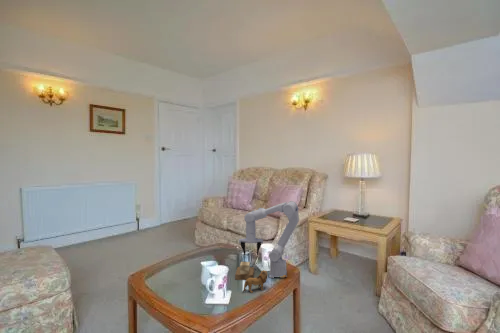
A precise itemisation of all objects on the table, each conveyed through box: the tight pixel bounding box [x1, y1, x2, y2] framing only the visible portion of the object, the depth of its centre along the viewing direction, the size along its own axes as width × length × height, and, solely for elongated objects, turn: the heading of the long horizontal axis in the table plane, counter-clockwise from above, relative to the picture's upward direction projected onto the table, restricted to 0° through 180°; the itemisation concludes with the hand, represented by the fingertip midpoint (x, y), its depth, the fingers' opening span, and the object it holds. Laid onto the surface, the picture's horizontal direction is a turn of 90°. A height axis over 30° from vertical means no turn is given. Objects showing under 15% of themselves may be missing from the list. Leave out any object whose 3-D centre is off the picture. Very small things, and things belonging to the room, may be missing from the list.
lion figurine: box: [242, 269, 269, 294], centre depth 135 cm, size 15×5×9 cm, turn 118°
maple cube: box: [239, 261, 251, 274], centre depth 149 cm, size 5×5×5 cm
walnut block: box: [234, 266, 255, 281], centre depth 151 cm, size 10×10×4 cm
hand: (251, 254), depth 157 cm, fingers open, 7 cm apart
